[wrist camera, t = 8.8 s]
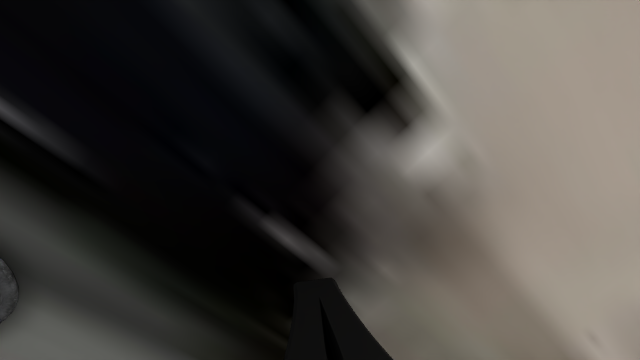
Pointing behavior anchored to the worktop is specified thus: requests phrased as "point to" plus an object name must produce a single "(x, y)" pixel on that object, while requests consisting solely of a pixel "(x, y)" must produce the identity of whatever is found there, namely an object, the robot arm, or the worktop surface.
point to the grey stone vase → (7, 291)
